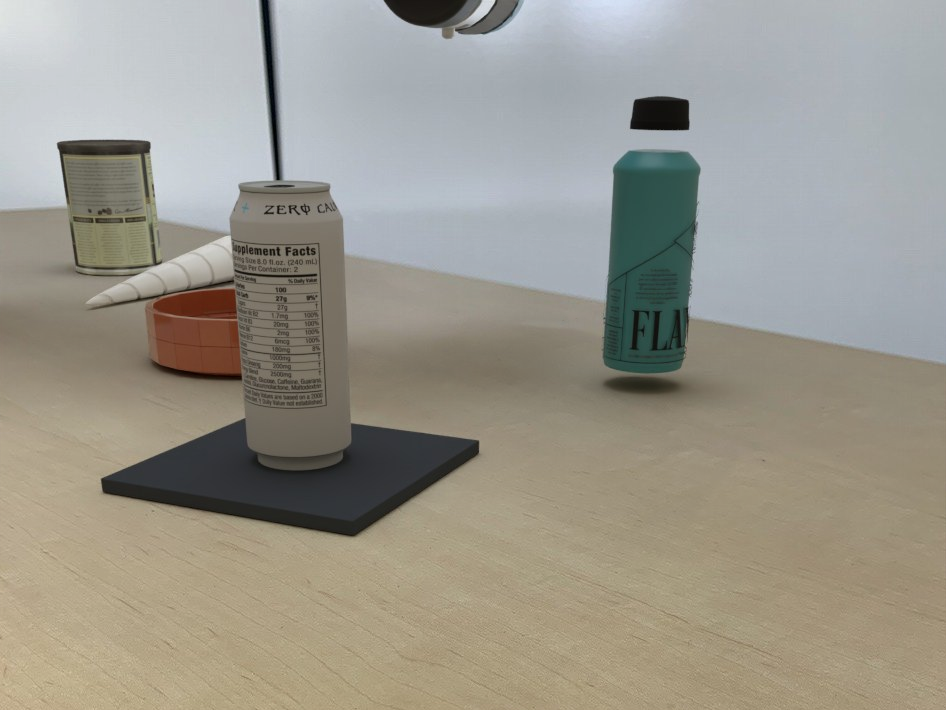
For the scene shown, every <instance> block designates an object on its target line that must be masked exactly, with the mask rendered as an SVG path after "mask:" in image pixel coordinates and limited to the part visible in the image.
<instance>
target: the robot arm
mask: <svg viewBox="0 0 946 710" xmlns="http://www.w3.org/2000/svg"><path fill="white" fill-rule="evenodd" d="M383 2H384V4H385V5H386V6H387V8H388V9H389V10H390V11H391V12H392V13H393V14H394V15H395V16H396V17H397V18H399V19H400V20H402V21H403V22H405V23H407V24H410V25H413V26H417V27H423V28H429V29H441V37H442V38H443V39H445V40H453V39H454V38H455V36H456V35H455V34H456V33H458V34H460V35H465V36H467V35H468V36H469V35H471V36H472V35H473V36H474V35H484V36H485V35H488V34H490V33H494V32H497V31H500V30H502V29H504V28H505V27H506V26H508V25H509V24H510V23H512V21H513V20H514V19H515V18H516V16H517V15H518V14H519V12H520V11H521V9H522V7H523V4H524V2H525V0H383Z"/></svg>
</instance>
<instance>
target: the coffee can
mask: <svg viewBox="0 0 946 710" xmlns="http://www.w3.org/2000/svg"><path fill="white" fill-rule="evenodd" d="M56 148H57V150H58V153H59V160H60V161H59V162H60V167H61V174H62V181H63V188H64V196H65V202H66V207H67V208H66V209H67V214H68V223H69V230H70V237H71V243H72V244H71V246H72V251H73V258H74V264H75V271H76V272H77V273H79V274H83V275H88V276H89V275H90V276H106V277H107V276H108V277H109V276H130V275H131V276H133V275H138V274H141V273H143V272H145V271H147V270H149V269H152V268H154V267H156V266H158V265H161V264H163V258H162V247H161V239H160V238H161V237H160V230H159V229H160V228H159V220H158V211H157V201H156V193H155V192H156V191H155V183H154V173H153V165H152V157H151V148H152V145H151V141H149V140H143V139H75V140H74V139H73V140H63V141H58V142H56Z"/></svg>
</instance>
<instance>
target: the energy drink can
mask: <svg viewBox="0 0 946 710" xmlns="http://www.w3.org/2000/svg"><path fill="white" fill-rule="evenodd" d="M237 186H238V189H239V195H238V196H237V200H236V202H235V204H234V206H233V209H232V211H231V214H230V215H229V218H228V219H229V229H230V231H229V233H230V236H231V245H232V257H233V270H234V280H233V281H234V282H233V283H234V288H235V295H236V307H237V320H238V332H239V345H240V358H241V370H242V376H241V381H242V383H241V384H242V392H243V393H242V394H243V395H242V396H243V406H244V418H245V420H246V433H247V444H248V447H249V448H250V449H252V450H253V451H254V452H256V453H257V455H258V461H259V462H260V463H261V464H263V465H264V466H267V467H270V468H274V469H280V470H292V471H299V470H313V469H320V468H325V467H328V466H332V465H334V464H337V463H338V462H340V461H341V460H342V458H343V450H344V449H345V448H347V447H348V446H349V445H350V444H351V423H352V420H351V419H352V418H351V415H352V414H351V391H350V389H351V388H350V367H349V364H350V363H349V341H348V338H349V337H348V315H347V314H348V313H347V290H346V289H347V287H346V286H347V285H346V261H345V259H346V258H345V237H344V235H345V234H344V233H345V232H344V217H343V215H342V213H341V211H340V209H339V208H338V206H337V204H336V203H335V200H334V199H333V197H332V195H331V191H330V190H331V184H330V182H329V183H328V182H324V181H315V180H314V181H313V180H289V179H288V180H285V179H284V180H253V181H245V182H244V181H243V182H240V183H238V185H237Z"/></svg>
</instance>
